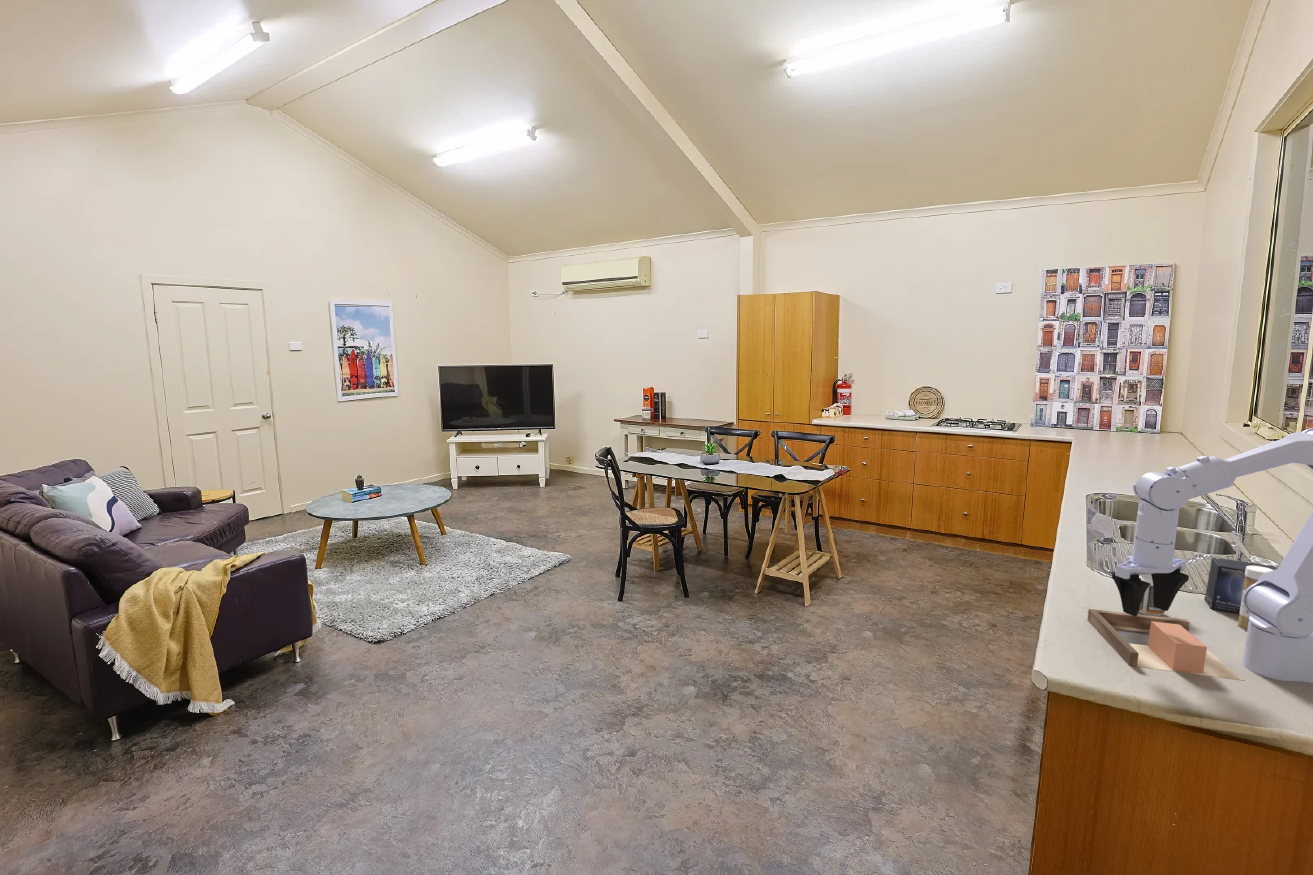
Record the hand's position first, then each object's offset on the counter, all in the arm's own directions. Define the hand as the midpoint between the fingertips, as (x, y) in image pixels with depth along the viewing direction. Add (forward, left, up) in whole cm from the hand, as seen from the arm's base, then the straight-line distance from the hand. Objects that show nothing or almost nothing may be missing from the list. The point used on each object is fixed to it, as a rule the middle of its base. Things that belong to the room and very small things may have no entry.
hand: (1145, 611), depth 113 cm
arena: (-5, -4, -10) cm, 11 cm away
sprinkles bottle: (-28, -20, -10) cm, 36 cm away
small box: (-32, -32, -10) cm, 46 cm away
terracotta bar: (-5, 0, -9) cm, 10 cm away
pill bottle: (-12, -25, -10) cm, 30 cm away
